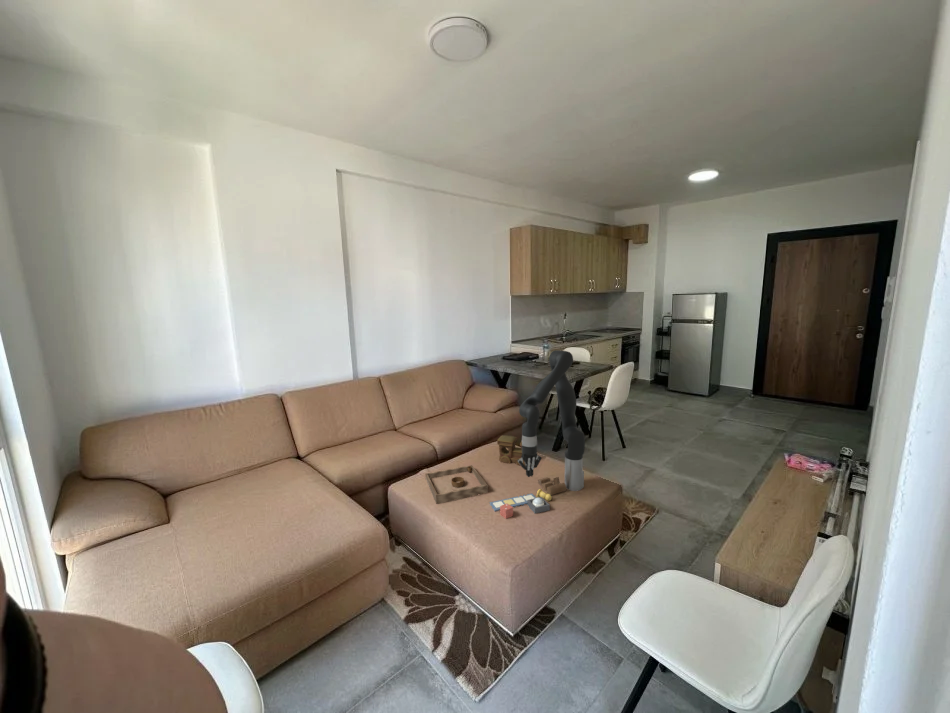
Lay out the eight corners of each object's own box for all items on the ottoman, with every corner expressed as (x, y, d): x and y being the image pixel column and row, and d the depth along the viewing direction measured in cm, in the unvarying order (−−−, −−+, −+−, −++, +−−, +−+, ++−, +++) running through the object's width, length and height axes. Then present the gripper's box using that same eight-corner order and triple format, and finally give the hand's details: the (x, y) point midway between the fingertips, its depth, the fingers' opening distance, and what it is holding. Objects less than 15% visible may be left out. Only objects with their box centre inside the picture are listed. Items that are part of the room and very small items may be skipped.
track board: (532, 494, 198) (532, 492, 198) (539, 501, 191) (539, 499, 191) (489, 503, 190) (489, 502, 190) (495, 511, 183) (494, 509, 183)
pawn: (537, 498, 195) (549, 504, 191) (535, 493, 193) (548, 499, 188) (541, 492, 198) (553, 497, 193) (540, 487, 195) (552, 492, 191)
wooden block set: (534, 477, 208) (549, 473, 212) (537, 493, 206) (552, 488, 211) (553, 479, 192) (569, 474, 196) (557, 497, 190) (573, 492, 195)
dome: (540, 503, 189) (540, 494, 188) (546, 509, 184) (546, 499, 183) (530, 505, 187) (530, 496, 186) (536, 511, 182) (535, 502, 181)
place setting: (440, 484, 212) (440, 474, 212) (469, 474, 224) (469, 465, 223) (457, 497, 198) (456, 487, 197) (487, 486, 209) (487, 476, 208)
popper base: (541, 502, 191) (541, 496, 190) (549, 510, 183) (549, 504, 183) (527, 505, 188) (527, 500, 188) (534, 513, 181) (534, 508, 180)
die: (507, 511, 183) (507, 503, 182) (513, 515, 179) (513, 507, 179) (500, 514, 181) (499, 506, 180) (505, 519, 177) (505, 510, 176)
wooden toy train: (496, 466, 233) (496, 440, 230) (503, 458, 243) (502, 434, 241) (528, 471, 225) (528, 444, 222) (533, 463, 235) (533, 437, 233)
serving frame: (472, 473, 224) (471, 465, 223) (488, 494, 200) (487, 485, 199) (425, 481, 215) (425, 473, 214) (436, 504, 191) (436, 495, 190)
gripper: (537, 438, 194) (537, 470, 197) (513, 442, 189) (514, 475, 192) (545, 443, 187) (545, 476, 190) (520, 448, 182) (521, 482, 185)
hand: (529, 476), depth 191 cm, fingers closed
